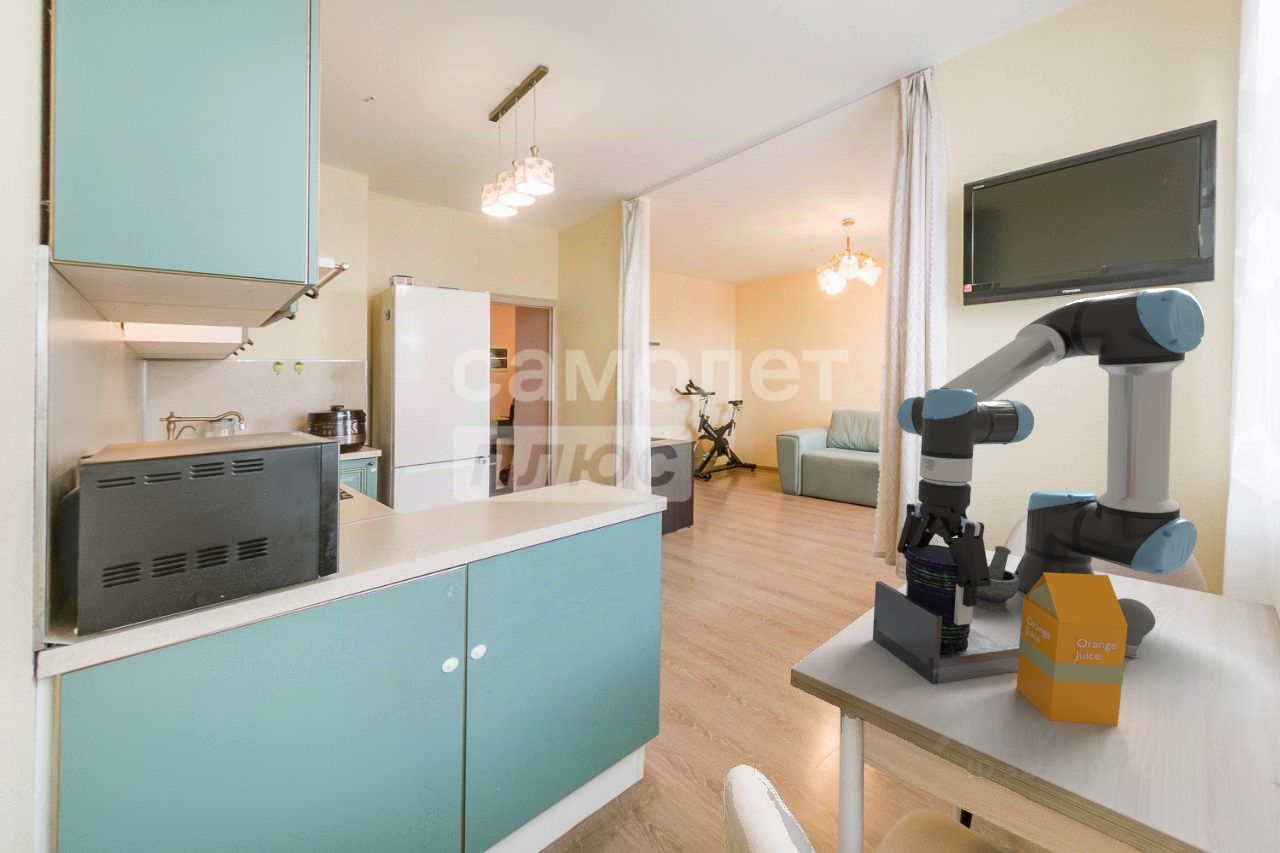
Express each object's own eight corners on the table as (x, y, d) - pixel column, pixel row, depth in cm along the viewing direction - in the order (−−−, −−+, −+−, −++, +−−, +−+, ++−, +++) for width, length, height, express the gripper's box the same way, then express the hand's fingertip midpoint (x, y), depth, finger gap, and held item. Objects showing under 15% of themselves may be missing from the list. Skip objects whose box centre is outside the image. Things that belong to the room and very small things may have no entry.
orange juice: (1015, 687, 78) (1024, 562, 76) (1076, 691, 77) (1088, 565, 75) (1050, 721, 70) (1062, 583, 68) (1119, 726, 69) (1133, 586, 67)
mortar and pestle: (1002, 618, 101) (1007, 560, 100) (953, 601, 109) (956, 547, 108) (1027, 605, 107) (1031, 550, 106) (978, 590, 115) (982, 538, 114)
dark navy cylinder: (889, 630, 89) (894, 548, 88) (928, 619, 93) (932, 541, 92) (942, 658, 80) (948, 567, 79) (982, 645, 84) (988, 559, 83)
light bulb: (1138, 649, 89) (1143, 595, 88) (1159, 667, 84) (1166, 609, 83) (1096, 643, 91) (1101, 590, 90) (1114, 660, 86) (1120, 604, 85)
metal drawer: (950, 629, 96) (953, 574, 95) (1020, 670, 82) (1025, 606, 81) (872, 639, 92) (875, 581, 91) (932, 684, 79) (936, 616, 78)
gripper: (879, 470, 94) (873, 584, 96) (985, 497, 72) (975, 644, 74) (913, 468, 96) (907, 581, 98) (1027, 494, 74) (1016, 639, 76)
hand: (936, 608), depth 86 cm, fingers closed on dark navy cylinder, 10 cm apart
